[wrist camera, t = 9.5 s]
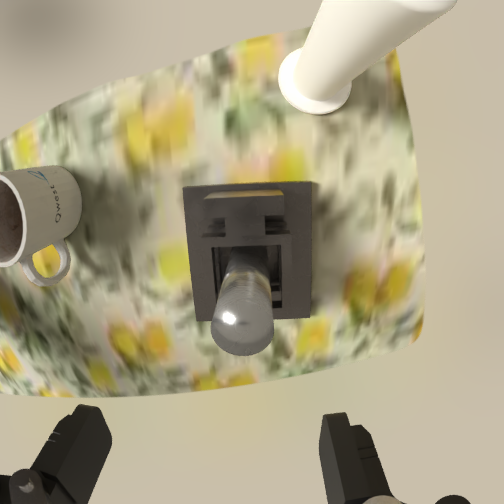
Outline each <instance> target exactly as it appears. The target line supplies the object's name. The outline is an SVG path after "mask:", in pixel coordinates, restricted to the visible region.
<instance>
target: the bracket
mask: <svg viewBox="0 0 504 504" xmlns="http://www.w3.org/2000/svg"><path fill="white" fill-rule="evenodd" d="M183 199H184V211H185V222H186V233H187V243H188V253H189V263H190V272H191V281H192V289H193V297H194V305H195V313H196V320H197V321H212V319H213V315H214V311H215V308H216V304H217V301H218V297H219V294H220V290H221V286H222V283H223V279H224V276H225V272H226V269H227V265H228V262H229V258H230V255H231V251H232V249H233V247H234V246H258V245H264V246H265V248H266V250H267V253H268V263H269V275H270V287H271V299H272V311H273V319H295V318H310V304H311V182H310V181H284V182H255V183H234V184H217V185H201V186H187V187H183Z"/></svg>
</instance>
